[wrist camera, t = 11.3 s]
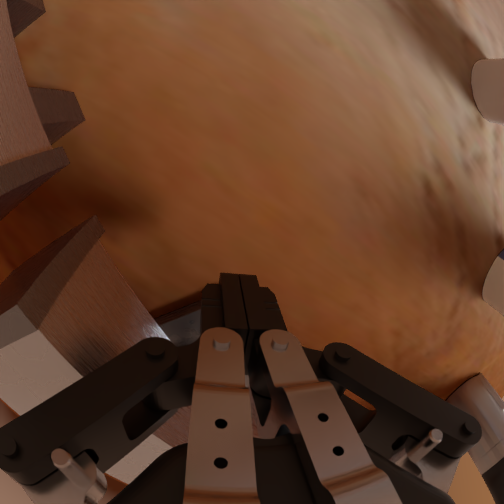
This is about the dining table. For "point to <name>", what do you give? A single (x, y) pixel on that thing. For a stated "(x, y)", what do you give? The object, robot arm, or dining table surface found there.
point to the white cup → (489, 89)
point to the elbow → (76, 332)
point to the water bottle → (495, 285)
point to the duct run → (28, 114)
